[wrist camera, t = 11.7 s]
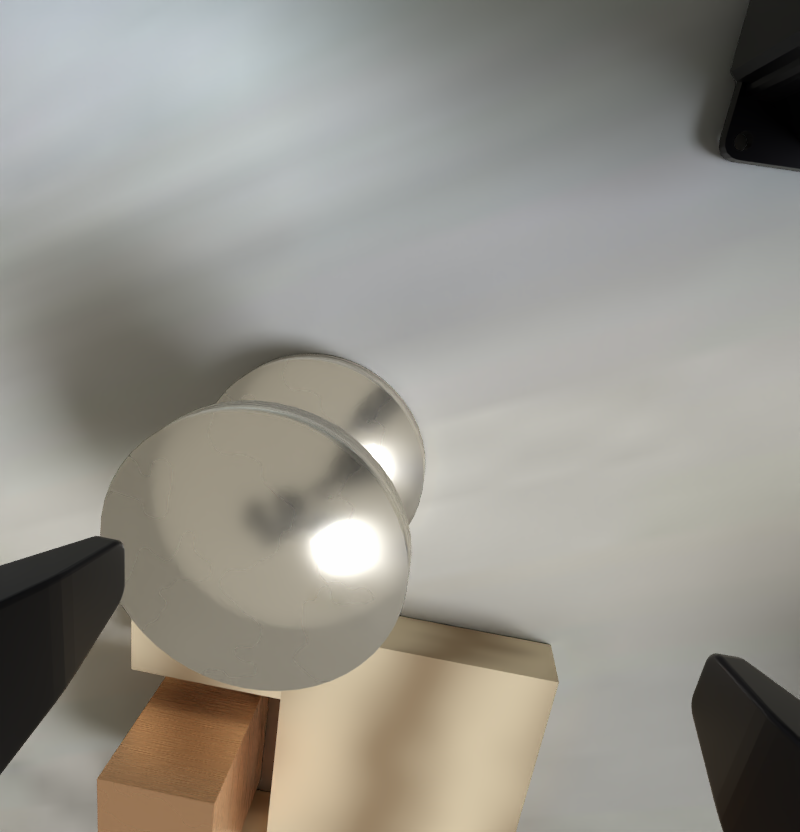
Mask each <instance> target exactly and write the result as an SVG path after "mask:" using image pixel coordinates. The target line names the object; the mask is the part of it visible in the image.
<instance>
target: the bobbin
mask: <svg viewBox="0 0 800 832" xmlns="http://www.w3.org/2000/svg"><path fill="white" fill-rule="evenodd" d="M424 474H425V451H424V446H423V440H422V437H421V434H420V431H419V427H418V425H417V423H416V421H415V419H414V417H413V414H412V413H411V411H410V409H409V408H408V406H407V405H406V403H405V402H404V400H403V399H402V398H401V397H400V396H399V395H398V393H397V392H396V391H395V390H394V389H393V388H392V387H391V386H390V385H389V384H388V383H386V382H385V381H384V380H383V379H382V378H380V377H379V376H377V375H376V374H375V373H373V372H372V371H370V370H368V369H366V368H364V367H363V366H361V365H359V364H357V363H354V362H351V361H349V360H346V359H343V358H339V357H335V356H331V355H323V354H296V355H290V356H285V357H281V358H278V359H275V360H272V361H269V362H267V363H265V364H263V365H261V366H259V367H257V368H256V369H254V370H253V371H251V372H250V373H248V374H247V375H245V376H244V377H242V378H240V379H239V380H237V381H236V382H235V383H234V384H233V385H232V386H231V387H230V388H228V389H227V390H226V392H225V393H224V394H223V395H222V396H221V398H220V399H219V400H218V401H217V403H216V404H213V405H209V406H206V407H203V408H199V409H197V410H194V411H192V412H190V413H188V414H186V415H184V416H181V417H180V418H178V419H177V420H175V421H173V422H172V423H170V424H169V425H167V426H166V427H164V428H163V429H161V430H159V431H158V432H156V433H155V434H153V435H152V436H150V437H149V438H147V439H146V440H145V441H143V442H142V443H141V444H140V445H139V446H138V447H137V448H136V449H135V450H134V451H132V452H131V454H130V455H129V456H128V457H127V459H126V460H125V461H124V462H123V464H122V465H121V466H120V468H119V469H118V471H117V473H116V475H115V476H114V478H113V480H112V482H111V484H110V487H109V489H108V492H107V495H106V497H105V501H104V506H103V511H102V515H101V531H100V536H101V537H105V538H110V539H116V540H120V541H121V542H122V543H123V545H124V549H125V588H124V593H123V596H122V598H121V601H120V603H121V604H122V606H123V607H124V609H125V610H126V612H127V613H128V615H129V616H130V618H131V619H132V620H133V622H134V623H135V624H136V625H137V626H138V628H139V629H140V630H141V631H142V632H143V633H144V634H145V635H146V636H147V637H148V638H149V639H150V640H151V641H152V642H153V643H154V644H155V645H156V646H157V647H158V648H160V649H161V650H162V651H164V652H165V653H166V654H168V655H169V656H170V657H171V658H173V659H174V660H176V661H178V662H179V663H181V664H183V665H184V666H186V667H187V668H189V669H191V670H193V671H195V672H197V673H199V674H201V675H203V676H206V677H208V678H211V679H214V680H216V681H219V682H222V683H225V684H229V685H233V686H237V687H241V688H247V689H254V690H262V691H287V690H298V689H303V688H309V687H314V686H317V685H320V684H323V683H326V682H330V681H332V680H334V679H337V678H339V677H341V676H343V675H345V674H347V673H349V672H350V671H352V670H353V669H355V668H356V667H358V666H360V665H361V664H362V663H364V662H365V661H366V660H367V659H368V658H369V657H370V656H372V655H373V654H374V653H375V652H376V651H377V650H378V648H379V647H380V646H381V645H382V644H383V643H384V641H385V640H386V639H387V637H388V636H389V634H390V632H391V631H392V629H393V628H394V626H395V624H396V622H397V619H398V617H399V615H400V612H401V610H402V607H403V603H404V599H405V595H406V591H407V585H408V578H409V572H410V563H411V553H412V552H411V534H410V529H409V524H410V522H411V520H412V519H413V517H414V515H415V512H416V510H417V507H418V505H419V502H420V498H421V494H422V489H423V482H424Z"/></svg>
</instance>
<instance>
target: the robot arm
mask: <svg viewBox="0 0 800 832" xmlns="http://www.w3.org/2000/svg"><path fill="white" fill-rule="evenodd" d="M730 71H731V74H732V76H733V79H734V81H737V83H736V87H735V90H734V94H733V97H732V100H731V104H730V107H729V111H728V114H727V118H726V121H725V124H724V128H723V131H722V135H721V138H720V143H719V150H720V153H721V155H722V156H723V157H724V158H725V159H726V160H728V161H731V162H737V163H744V164H751V165H758V166H765V167H772V168H779V169H786V170H792V171H799V172H800V0H750V3H749V7H748V10H747V14H746V17H745V21H744V24H743V28H742V31H741V35H740V38H739V42H738V45H737V49H736V52H735V56H734V59H733V63H732V66H731V70H730ZM739 133H740V134H743V135H744V136H745V137H746V139H747V142H746V146H745V148H744V149H743V150H742V151H740V150H738V149H736V147H735V146H734V139H735V138H736V136H737V135H738V134H739ZM124 588H125V549H124V545H123V543H122V542H121V541H120V540H116V539H110V538H105V537H100V536H94V537H91V538H87V539H84V540H81V541H78V542H75V543H71V544H68V545H65V546H62V547H59V548H55V549H52V550H49V551H46V552H42V553H39V554H36V555H33V556H30V557H26V558H23V559H20V560H17V561H14V562H10V563H7V564H4V565H1V566H0V774H1V773H2V772H3V771H4V769H5V768H6V767H7V765H8V764H9V763H10V761H11V760H12V759H13V757H14V756H15V755H16V754H17V752H18V751H19V750H20V748H21V747H22V746H23V744H24V743H25V742H26V740H27V739H28V738H29V737H30V735H31V734H32V733H33V731H34V730H35V729H36V727H37V726H38V725H39V723H40V722H41V721H42V720H43V718H44V717H45V716H46V714H47V713H48V712H49V710H50V709H51V708H52V706H53V705H54V704H55V703H56V701H57V700H58V698H59V697H60V696H61V694H62V693H63V692H64V690H65V689H66V687H67V686H68V684H69V683H70V681H71V680H72V678H73V677H74V675H75V674H76V672H77V671H78V669H79V667H80V666H81V664H82V662H83V661H84V659H85V658H86V656H87V654H88V653H89V651H90V650H91V648H92V646H93V645H94V643H95V641H96V640H97V638H98V637H99V635H100V633H101V632H102V630H103V629H104V627H105V625H106V624H107V622H108V620H109V619H110V617H111V616H112V614H113V612H114V611H115V609H116V608H117V606H118V604H119V603H120V601H121V598H122V596H123V593H124ZM692 714H693V719H694V723H695V727H696V731H697V735H698V739H699V743H700V747H701V751H702V755H703V759H704V762H705V766H706V770H707V774H708V778H709V782H710V786H711V790H712V794H713V798H714V802H715V806H716V809H717V813H718V816H719V820H720V823H721V826H722V829H723V832H800V700H799V699H797V698H796V697H795V696H793V695H792V694H791V693H789V692H788V691H786V690H785V689H784V688H782V687H781V686H780V685H778V684H777V683H775V682H774V681H773V680H771V679H770V678H769V677H767V676H766V675H765V674H763V673H762V672H760V671H759V670H758V669H756V668H755V667H754V666H752V665H751V664H749V663H748V662H747V661H745V660H744V659H741V658H739V657H734V656H728V655H723V654H717V653H715V654H712V655H710V656H709V657H708V659H707V661H706V663H705V665H704V668H703V671H702V673H701V676H700V678H699V681H698V684H697V686H696V689H695V691H694V694H693V697H692Z"/></svg>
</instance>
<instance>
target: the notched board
mask: <svg viewBox="0 0 800 832" xmlns="http://www.w3.org/2000/svg"><path fill="white" fill-rule="evenodd" d="M131 669H132V670H137V671H142V672H147V673H152V674H157V675H162V676H167V677H172V678H177V679H182V680H187V681H192V682H197V683H202V684H207V685H212V686H217V687H222V688H227V689H232V690H237V691H242V692H247V693H252V694H257V695H262V696H266V697H271V698H276V699H280V709H279V718H278V728H277V738H276V747H275V757H274V767H273V777H272V786H271V793H269V792H265V791H260V790H256V792H255V795H254V797H253V800H252V803H251V805H250V808H249V811H248V814H247V816H246V819H245V822H244V824H243V827H242V830H241V832H516V829H517V825H518V822H519V818H520V815H521V811H522V808H523V804H524V801H525V798H526V794H527V791H528V787H529V784H530V780H531V777H532V773H533V770H534V766H535V763H536V760H537V756H538V753H539V749H540V746H541V742H542V739H543V735H544V732H545V728H546V725H547V722H548V718H549V715H550V711H551V708H552V704H553V701H554V697H555V694H556V690H557V687H558V684H559V681H558V676H557V672H556V667H555V663H554V658H553V653H552V649H551V645H548V644H543V643H538V642H533V641H527V640H522V639H517V638H512V637H506V636H501V635H496V634H491V633H485V632H480V631H475V630H470V629H465V628H459V627H454V626H449V625H444V624H438V623H433V622H428V621H423V620H417V619H412V618H407V617H402V616H399V617H398V619H397V622H396V624H395V626H394V628H393V629H392V631H391V632H390V634H389V636H388V637H387V639H386V640H385V641H384V643H383V644H382V645H381V646H380V647H379V648H378V650H377V651H376V652H375V653H374V654H373V655H372V656H370V657H369V658H368V659H367V660H366V661H365V662H364V663H362V664H361V665H360V666H358V667H356V668H355V669H353V670H352V671H350V672H349V673H347V674H345V675H343V676H341V677H339V678H337V679H334V680H332V681H330V682H326V683H323V684H320V685H317V686H314V687H309V688H303V689H298V690H287V691H262V690H254V689H247V688H241V687H237V686H233V685H229V684H225V683H222V682H219V681H216V680H214V679H211V678H208V677H206V676H203V675H201V674H199V673H197V672H195V671H193V670H191V669H189V668H187V667H186V666H184V665H183V664H181V663H179V662H178V661H176V660H174V659H173V658H171V657H170V656H169V655H168V654H166V653H165V652H164V651H162V650H161V649H160V648H158V647H157V646H156V645H155V644H154V643H153V642H152V641H151V640H150V639H149V638H148V637H147V636H146V635H145V634H144V633H143V632H142V631H141V630H140V629H139V628H138V626H137V625H136V624H135V623H134V622H133V620H132V619H131Z"/></svg>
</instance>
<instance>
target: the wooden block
mask: <svg viewBox="0 0 800 832" xmlns="http://www.w3.org/2000/svg"><path fill="white" fill-rule="evenodd" d="M268 702H269V697H266V696H262V695H257V694H252V693H247V692H242V691H237V690H232V689H227V688H222V687H217V686H212V685H207V684H202V683H197V682H192V681H187V680H182V679H177V678H172V677H167V676H166V677H165V679H164V680H163V682H162V683H161V685H160V686H159V688H158V689H157V691H156V692H155V694H154V695H153V697H152V698H151V700H150V701H149V703H148V704H147V706H146V707H145V709H144V710H143V711H142V713H141V714H140V716H139V717H138V719H137V720H136V722H135V723H134V725H133V726H132V728H131V729H130V731H129V732H128V734H127V735H126V737H125V738H124V740H123V741H122V743H121V744H120V746H119V747H118V749H117V750H116V752H115V753H114V755H113V756H112V758H111V759H110V761H109V762H108V763H107V765H106V766H105V768H104V769H103V771H102V772H101V774H100V775H99V777H98V778H97V802H98V832H241V830H242V827H243V824H244V822H245V819H246V816H247V814H248V811H249V808H250V805H251V803H252V800H253V797H254V795H255V792H256V789H257V787H258V784H259V781H260V779H261V769H262V760H263V750H264V740H265V731H266V721H267V711H268Z"/></svg>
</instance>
